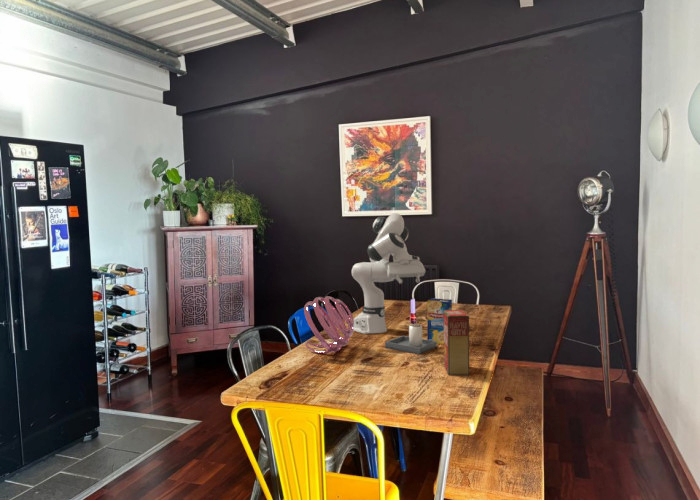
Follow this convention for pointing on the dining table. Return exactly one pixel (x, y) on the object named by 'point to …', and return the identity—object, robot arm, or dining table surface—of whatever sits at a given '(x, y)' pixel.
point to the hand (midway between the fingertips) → (409, 282)
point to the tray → (403, 345)
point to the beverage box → (436, 318)
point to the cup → (415, 335)
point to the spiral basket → (330, 323)
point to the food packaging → (456, 342)
